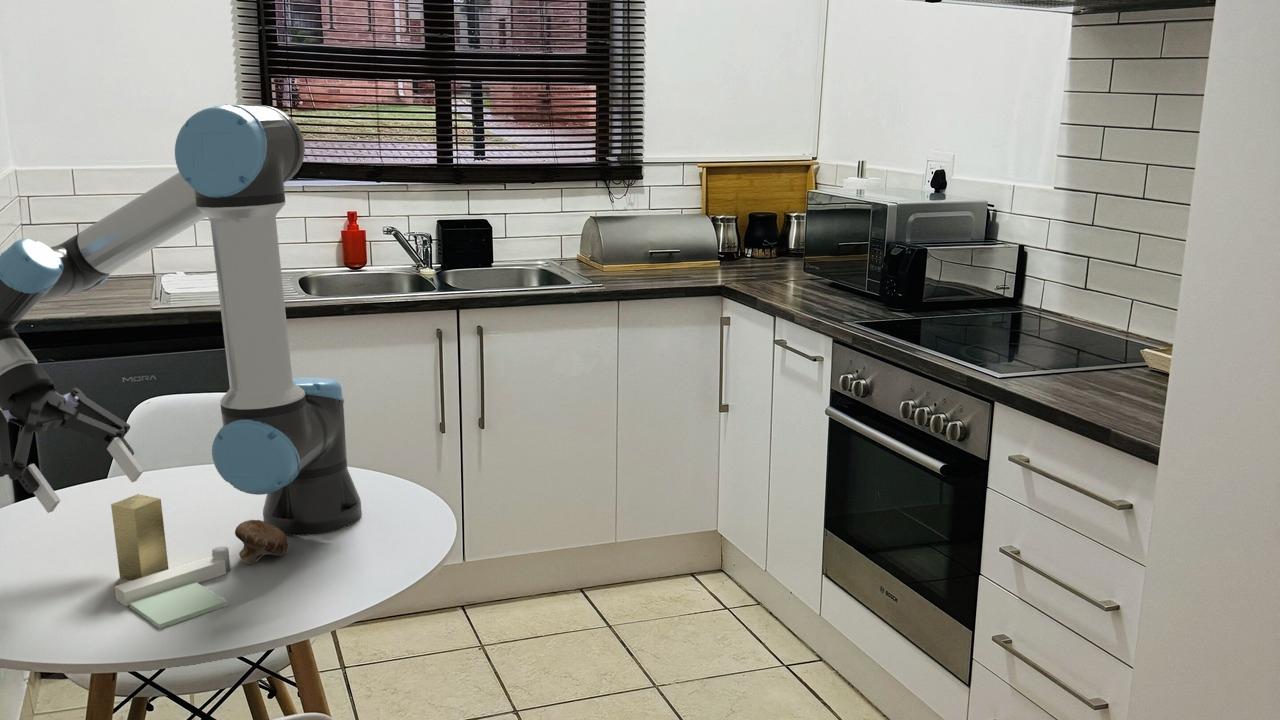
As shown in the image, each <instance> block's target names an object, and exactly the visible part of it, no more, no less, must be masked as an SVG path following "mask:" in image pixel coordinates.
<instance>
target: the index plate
mask: <svg viewBox="0 0 1280 720" xmlns="http://www.w3.org/2000/svg"><path fill="white" fill-rule="evenodd" d="M227 606H228V601H227V600H226V599H224V598H223V597H221V596H219V595H218V594H216V593H214V592H212V591H211V590H210V589H208V588H206V587H205V586H203V585H201V584H200V583H197V582H193V583H190V584H187V585H184V586H181V587H178V588H175V589H172V590H169V591H166V592H162V593H159V594H156V595H153V596H150V597H147V598H144V599H141V600H138V601H135V602H132V603H130V605H129V608H130V609H132V610H133V611H135V612H136V613H137V614H138V615H140V616H141V617H143V618H144V619H145V620H147V621H148V622H150V623H151V624H153V626H155V627H156V628H157V629H163V628H165V627H169V626H172V625H174V624H179V623H181V622H183V621H186V620H189V619H191V618H196V617H198V616H200V615H203V614H206V613H209V612H213V611H215V610H218V609H220V608H224V607H227Z"/></svg>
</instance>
